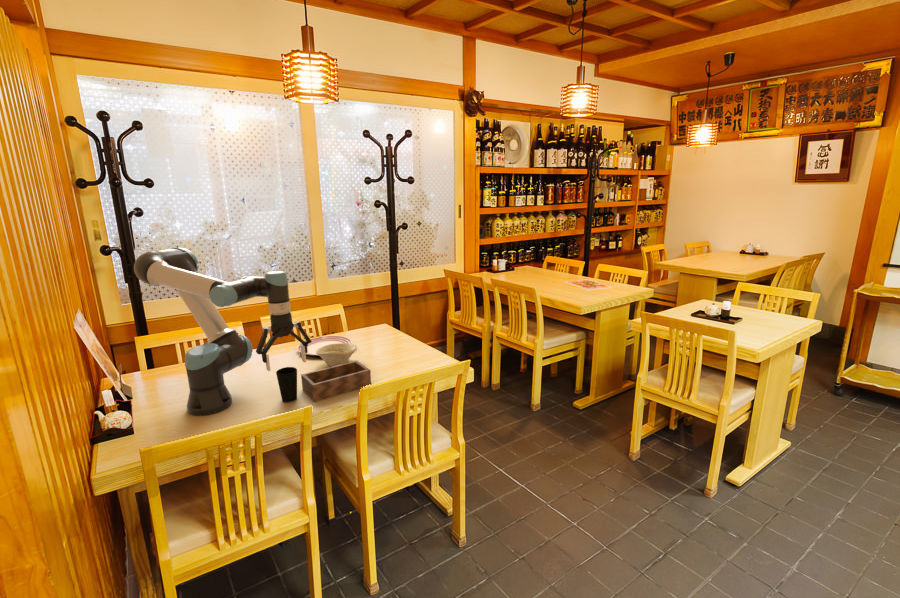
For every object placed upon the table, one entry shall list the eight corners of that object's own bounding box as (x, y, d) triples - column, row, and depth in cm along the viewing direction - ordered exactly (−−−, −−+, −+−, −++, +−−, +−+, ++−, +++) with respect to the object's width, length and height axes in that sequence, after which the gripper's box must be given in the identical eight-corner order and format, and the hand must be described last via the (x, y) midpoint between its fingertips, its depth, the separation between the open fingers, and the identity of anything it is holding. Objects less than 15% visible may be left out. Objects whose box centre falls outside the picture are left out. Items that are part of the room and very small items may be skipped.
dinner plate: (345, 359, 217) (345, 352, 216) (289, 359, 218) (288, 353, 217) (357, 340, 244) (357, 335, 243) (307, 341, 244) (307, 335, 244)
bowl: (324, 378, 206) (308, 354, 210) (356, 364, 218) (341, 341, 223) (332, 361, 197) (315, 337, 201) (365, 348, 209) (348, 325, 214)
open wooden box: (314, 402, 173) (312, 385, 171) (302, 390, 183) (301, 374, 182) (371, 385, 187) (370, 369, 185) (357, 375, 197) (356, 360, 196)
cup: (293, 404, 171) (290, 375, 168) (275, 402, 173) (272, 373, 170) (303, 395, 179) (300, 367, 176) (286, 394, 180) (283, 366, 177)
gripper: (247, 320, 157) (255, 376, 162) (316, 308, 172) (321, 360, 177) (242, 316, 163) (250, 370, 168) (309, 305, 177) (314, 355, 182)
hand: (286, 365), depth 172 cm, fingers open, 13 cm apart
